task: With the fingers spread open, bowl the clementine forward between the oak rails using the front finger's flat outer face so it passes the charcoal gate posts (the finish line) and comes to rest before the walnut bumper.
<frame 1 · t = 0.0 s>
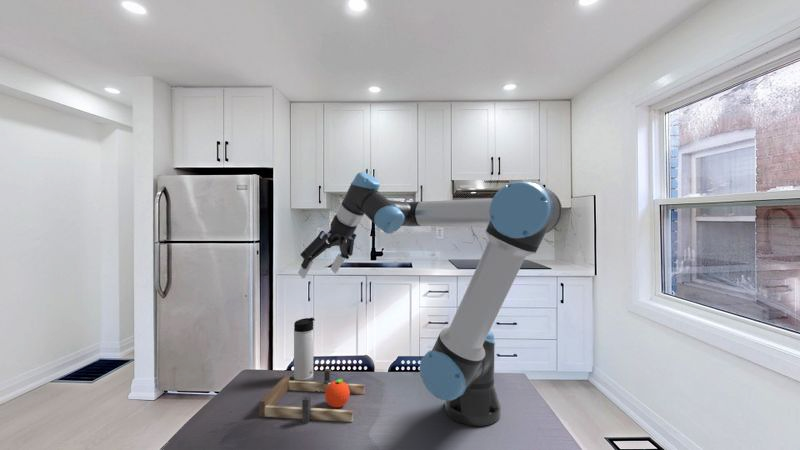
hand: (318, 273, 112), 36 cm above the table, tool tilted 35°, fingers open, 13 cm apart
travel mug: (304, 379, 116), on the table
clementine: (338, 405, 99), on the table
lane: (307, 403, 100), on the table
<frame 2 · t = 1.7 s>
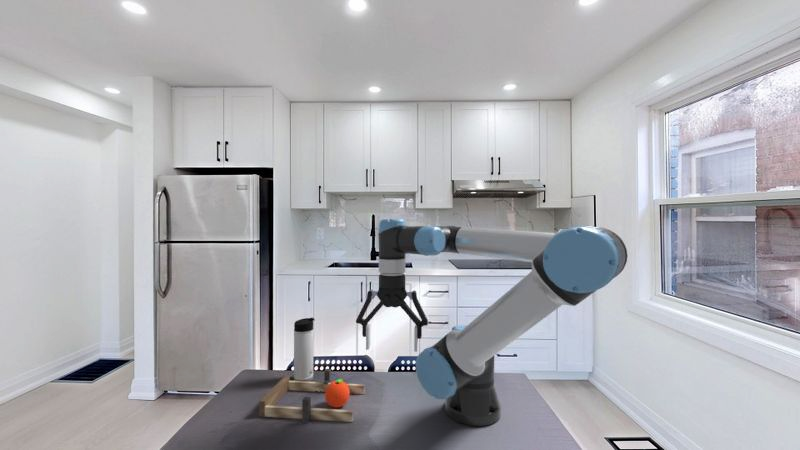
hand: (391, 349, 98), 17 cm above the table, tool pointing down, fingers open, 13 cm apart
nothing on the table moved.
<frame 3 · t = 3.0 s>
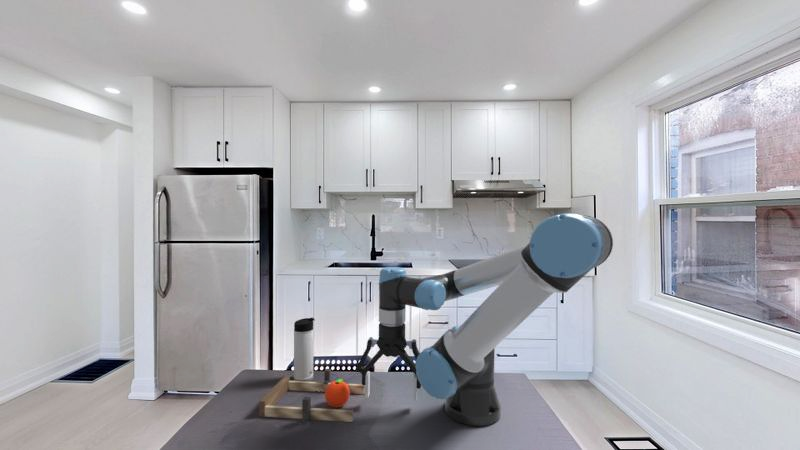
hand: (391, 397, 98), 3 cm above the table, tool pointing down, fingers open, 13 cm apart
nothing on the table moved.
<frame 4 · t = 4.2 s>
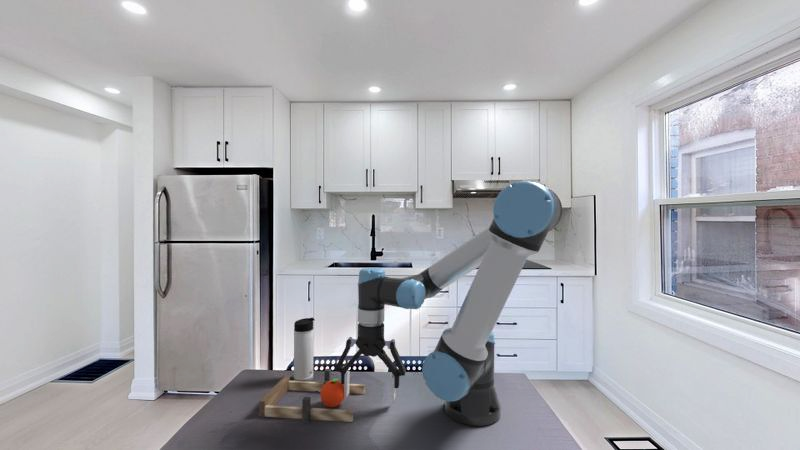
hand: (369, 397, 99), 3 cm above the table, tool pointing down, fingers open, 13 cm apart
clementine: (333, 405, 99), on the table, touching gripper
everything else where it was.
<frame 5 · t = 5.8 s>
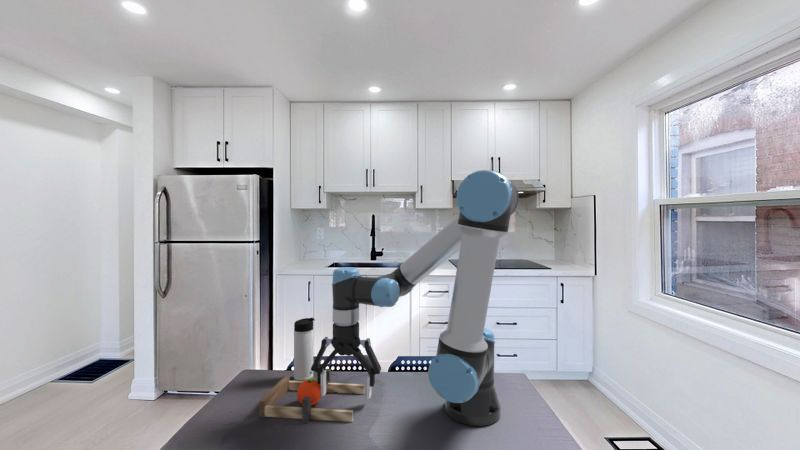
hand: (346, 395, 100), 2 cm above the table, tool pointing down, fingers open, 13 cm apart
clementine: (310, 404, 100), on the table, touching gripper
everything else where it was.
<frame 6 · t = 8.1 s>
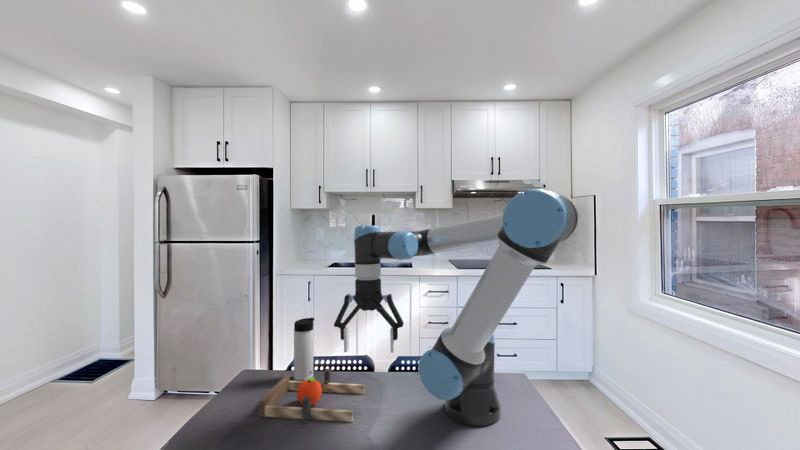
hand: (369, 351, 101), 15 cm above the table, tool pointing down, fingers open, 13 cm apart
clementine: (310, 404, 100), on the table
everything else where it was.
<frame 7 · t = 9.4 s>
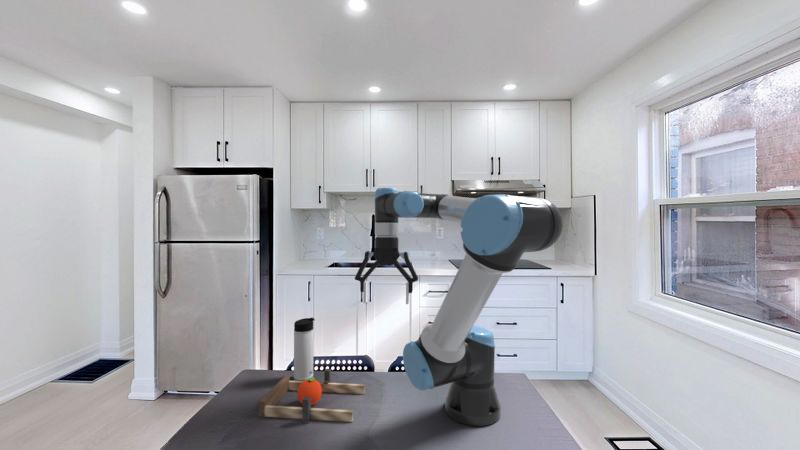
hand: (386, 302, 111), 27 cm above the table, tool pointing down, fingers open, 13 cm apart
nothing on the table moved.
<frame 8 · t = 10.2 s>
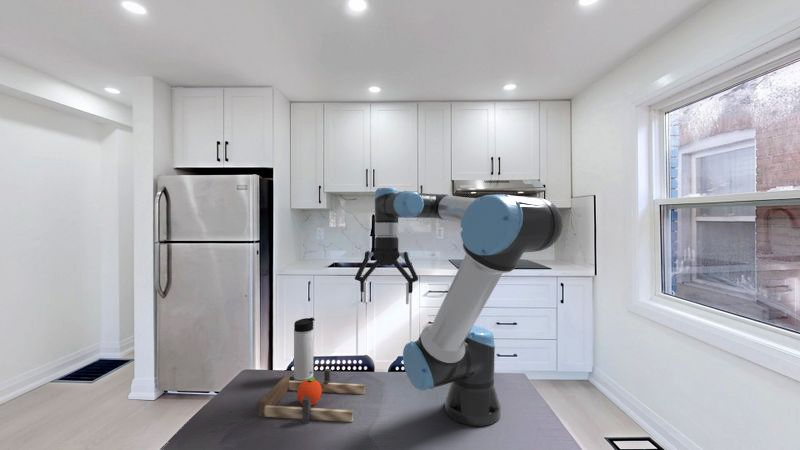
hand: (386, 302, 111), 27 cm above the table, tool pointing down, fingers open, 13 cm apart
nothing on the table moved.
at the end: clementine inside the target area (5.2 cm from its centre), on the table; clementine moved 8.3 cm from its start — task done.
